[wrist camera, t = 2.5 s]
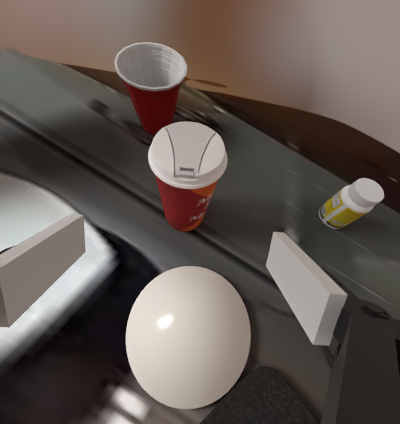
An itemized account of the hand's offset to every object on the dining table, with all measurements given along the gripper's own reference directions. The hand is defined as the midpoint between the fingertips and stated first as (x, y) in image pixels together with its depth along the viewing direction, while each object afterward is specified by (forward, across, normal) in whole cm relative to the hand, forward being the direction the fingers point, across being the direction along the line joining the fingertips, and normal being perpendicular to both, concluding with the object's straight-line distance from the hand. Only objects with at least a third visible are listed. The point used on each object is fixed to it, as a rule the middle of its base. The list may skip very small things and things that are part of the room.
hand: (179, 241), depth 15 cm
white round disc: (+8, +2, -16) cm, 17 cm away
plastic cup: (+33, -7, +9) cm, 35 cm away
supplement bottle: (+21, +25, -3) cm, 33 cm away
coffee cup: (+19, 0, -4) cm, 20 cm away
